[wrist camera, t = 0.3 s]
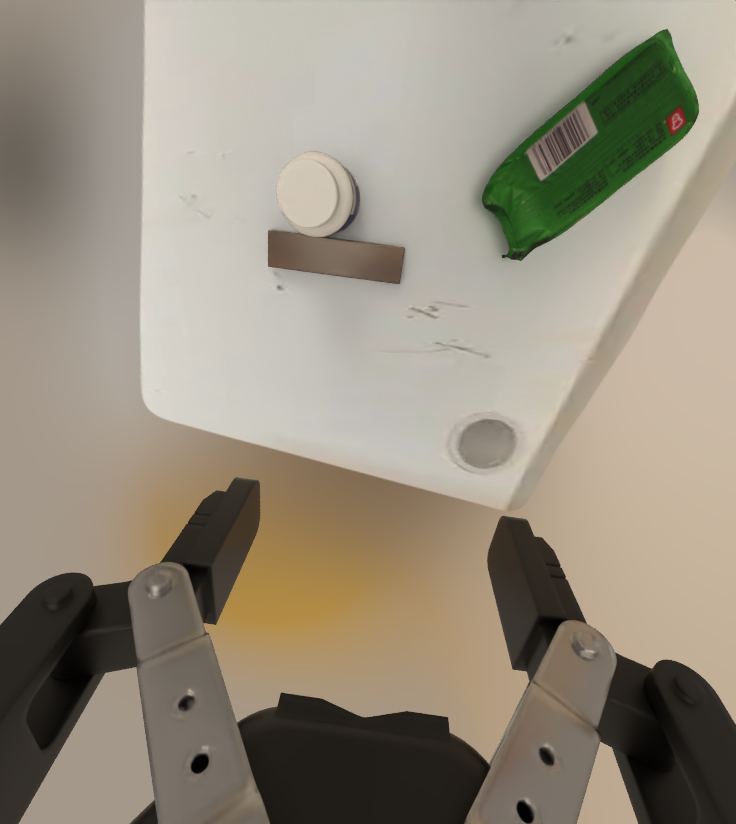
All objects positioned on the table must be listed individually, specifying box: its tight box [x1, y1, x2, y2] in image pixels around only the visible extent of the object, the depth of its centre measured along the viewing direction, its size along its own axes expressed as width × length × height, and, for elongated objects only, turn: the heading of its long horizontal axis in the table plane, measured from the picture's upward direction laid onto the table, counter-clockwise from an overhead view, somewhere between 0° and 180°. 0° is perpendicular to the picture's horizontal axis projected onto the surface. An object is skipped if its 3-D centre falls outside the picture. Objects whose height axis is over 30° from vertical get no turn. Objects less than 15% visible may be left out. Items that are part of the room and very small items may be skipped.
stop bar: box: [268, 230, 405, 284], centre depth 36 cm, size 3×12×1 cm, turn 83°
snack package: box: [482, 29, 699, 261], centre depth 30 cm, size 7×16×5 cm, turn 130°
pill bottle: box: [277, 152, 360, 237], centre depth 30 cm, size 5×5×10 cm
